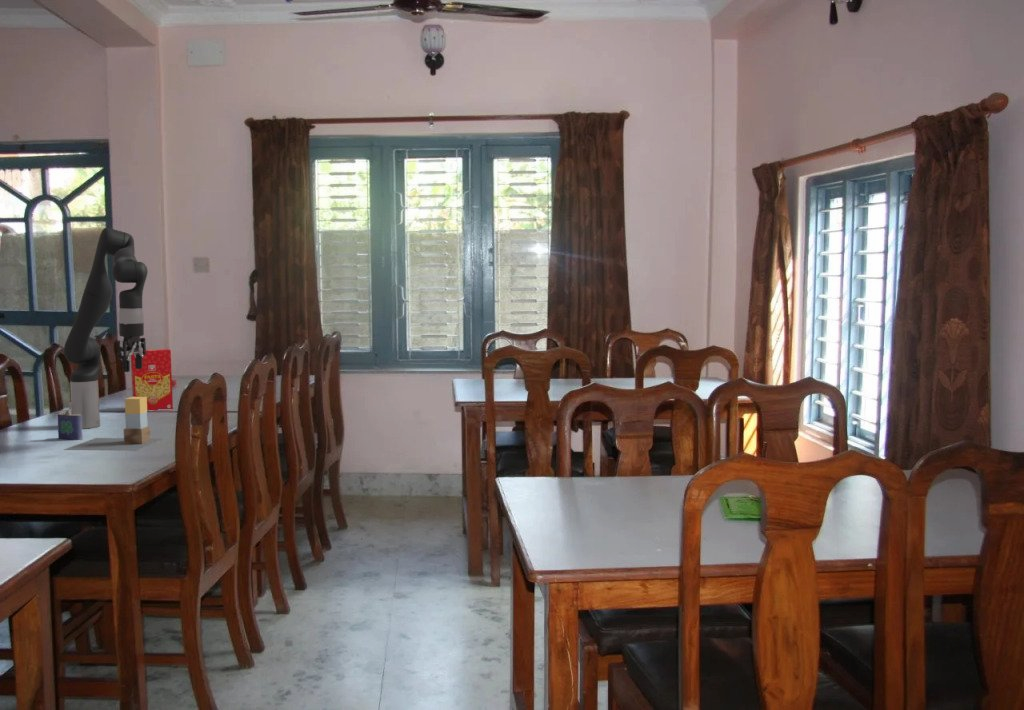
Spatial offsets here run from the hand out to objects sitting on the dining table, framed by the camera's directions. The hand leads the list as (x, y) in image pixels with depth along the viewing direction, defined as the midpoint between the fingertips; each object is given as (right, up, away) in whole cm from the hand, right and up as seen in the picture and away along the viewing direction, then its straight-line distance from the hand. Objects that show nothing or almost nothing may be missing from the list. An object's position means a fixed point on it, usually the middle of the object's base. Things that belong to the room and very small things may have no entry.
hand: (132, 370), depth 292 cm
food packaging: (-22, -18, +70) cm, 76 cm away
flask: (-24, -24, +6) cm, 35 cm away
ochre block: (+2, -14, -1) cm, 14 cm away
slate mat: (-5, -25, -3) cm, 25 cm away
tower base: (+2, -24, 0) cm, 24 cm away
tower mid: (+2, -19, 0) cm, 19 cm away
